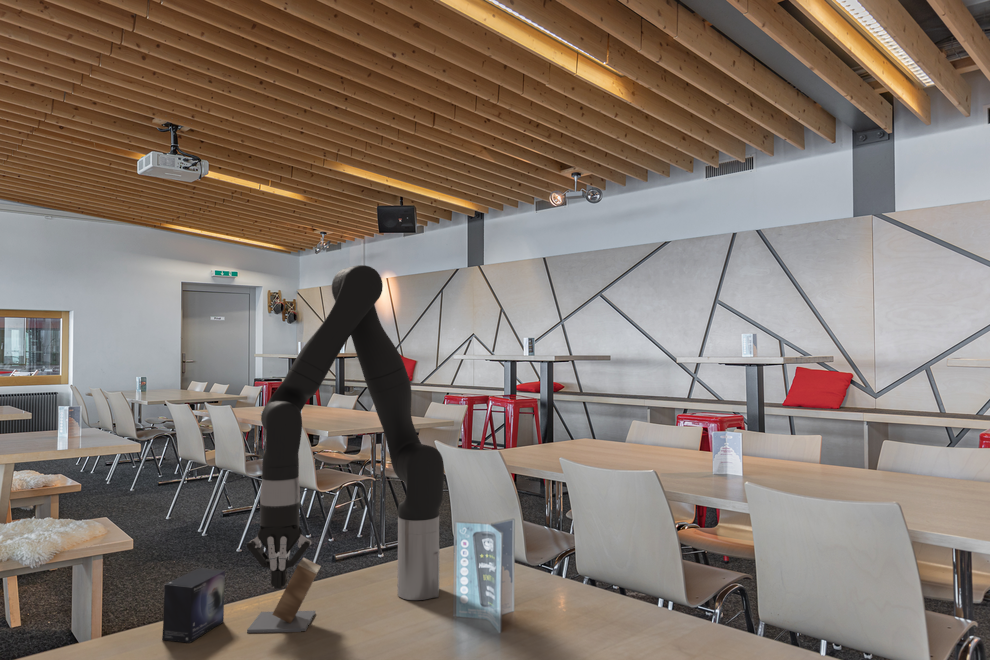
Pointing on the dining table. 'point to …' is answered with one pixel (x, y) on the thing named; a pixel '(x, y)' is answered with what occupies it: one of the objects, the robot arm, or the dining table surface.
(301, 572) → the walnut block
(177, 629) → the small box
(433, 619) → the dining table surface
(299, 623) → the slate pad
